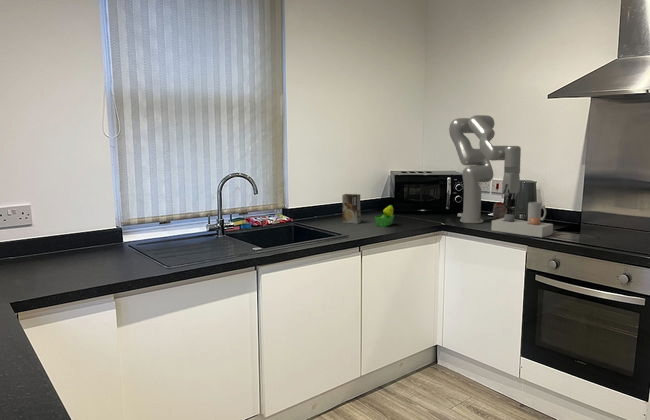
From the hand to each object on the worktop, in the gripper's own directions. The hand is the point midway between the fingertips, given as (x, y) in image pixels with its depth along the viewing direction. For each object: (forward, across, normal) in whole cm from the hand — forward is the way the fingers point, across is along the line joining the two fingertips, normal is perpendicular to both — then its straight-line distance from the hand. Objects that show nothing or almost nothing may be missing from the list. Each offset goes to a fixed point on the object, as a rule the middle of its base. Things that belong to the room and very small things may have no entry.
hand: (511, 206), depth 250 cm
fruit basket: (+12, +33, -55) cm, 65 cm away
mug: (+12, -26, +2) cm, 29 cm away
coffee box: (+11, +40, -74) cm, 85 cm away
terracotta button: (+10, 0, +12) cm, 15 cm away
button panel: (+12, 0, +6) cm, 14 cm away
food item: (+12, -32, -23) cm, 42 cm away
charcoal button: (+9, 0, -1) cm, 9 cm away
